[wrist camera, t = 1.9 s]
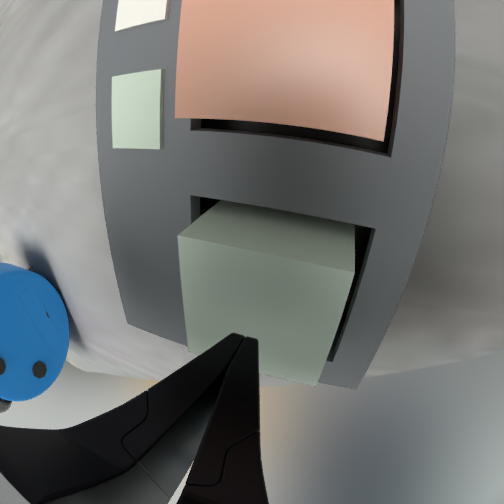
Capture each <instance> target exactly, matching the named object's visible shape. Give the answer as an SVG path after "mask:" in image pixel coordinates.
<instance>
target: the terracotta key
mask: <svg viewBox="0 0 504 504" xmlns="http://www.w3.org/2000/svg"><path fill="white" fill-rule="evenodd" d="M393 42H394V0H182V5H181V14H180V25H179V37H178V51H177V68H176V90H175V118H199V119H225V120H242V121H255V122H266V123H276V124H284V125H293V126H300V127H308V128H315V129H321V130H327V131H333V132H339V133H344V134H350V135H355V136H360V137H365V138H370V139H374V140H379V141H383V142H384V135H385V128H386V121H387V113H388V105H389V96H390V86H391V74H392V61H393Z"/></svg>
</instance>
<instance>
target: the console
mask: <svg viewBox="0 0 504 504" xmlns="http://www.w3.org/2000/svg"><path fill="white" fill-rule="evenodd" d="M181 5H182V0H103V5H102V13H101V21H100V30H99V40H98V54H97V74H96V125H97V146H98V160H99V171H100V181H101V190H102V199H103V206H104V213H105V220H106V227H107V233H108V239H109V244H110V250H111V255H112V260H113V265H114V270H115V274H116V279H117V283H118V288H119V292H120V296H121V300H122V304H123V308H124V312H125V316H126V319H127V323H128V324H130V325H132V326H135V327H137V328H140V329H142V330H145V331H147V332H150V333H152V334H155V335H158V336H160V337H163V338H166V339H169V340H171V341H174V342H177V343H180V344H183V345H185V346H188V342H187V334H186V325H185V317H184V307H183V298H182V287H181V276H180V264H179V250H178V235H179V234H180V233H181V232H182V231H183V230H185V229H186V228H187V227H188V226H189V225H191V224H192V223H193V222H194V221H195V220H197V219H198V218H199V217H200V197H206V198H212V199H219V200H225V201H232V202H238V203H244V204H250V205H256V206H262V207H268V208H273V209H279V210H284V211H290V212H295V213H301V214H306V215H311V216H316V217H321V218H326V219H331V220H336V221H341V222H346V223H351V224H356V225H360V226H365V227H370V228H372V229H371V233H370V237H369V241H368V245H367V249H366V252H365V256H364V260H363V263H362V267H361V270H360V274H359V277H358V280H357V284H356V287H355V290H354V294H353V297H352V300H351V303H350V306H349V309H348V312H347V315H346V317H343V316H341V319H340V322H339V325H338V328H337V331H336V334H335V337H334V340H333V343H332V346H331V348H330V351H329V354H328V357H327V359H326V362H325V365H324V367H323V370H322V373H321V375H320V378H319V380H318V382H319V383H324V384H329V385H335V386H340V387H345V388H351V389H357V387H358V385H359V383H360V382H361V380H362V378H363V376H364V375H365V373H366V371H367V369H368V367H369V365H370V363H371V361H372V359H373V357H374V355H375V353H376V351H377V349H378V347H379V345H380V343H381V341H382V339H383V337H384V335H385V333H386V331H387V328H388V326H389V324H390V322H391V320H392V317H393V315H394V313H395V310H396V308H397V306H398V303H399V301H400V299H401V296H402V294H403V291H404V289H405V286H406V283H407V281H408V278H409V276H410V273H411V270H412V267H413V265H414V262H415V259H416V256H417V253H418V250H419V247H420V244H421V241H422V238H423V235H424V232H425V228H426V225H427V222H428V218H429V215H430V211H431V207H432V204H433V200H434V196H435V192H436V188H437V184H438V180H439V175H440V171H441V166H442V161H443V156H444V151H445V145H446V139H447V133H448V127H449V120H450V112H451V104H452V95H453V83H454V68H455V12H454V0H400V36H399V58H398V72H397V84H396V94H395V103H394V112H393V119H392V127H391V134H390V140H389V146H388V152H387V154H386V153H382V152H378V151H373V150H369V149H364V148H359V147H354V146H349V145H344V144H338V143H333V142H327V141H321V140H315V139H308V138H301V137H294V136H286V135H278V134H269V133H260V132H249V131H238V130H224V129H205V128H201V119H199V118H175V90H176V68H177V51H178V37H179V25H180V14H181Z"/></svg>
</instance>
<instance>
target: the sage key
mask: <svg viewBox="0 0 504 504" xmlns="http://www.w3.org/2000/svg"><path fill="white" fill-rule="evenodd" d="M178 250H179V264H180V276H181V287H182V298H183V307H184V317H185V325H186V334H187V342H188V349H189V352H192V353H195V354H198V355H200V354H202V353H203V352H205V351H206V350H208V349H209V348H211V347H212V346H214V345H215V344H216V343H218V342H219V341H221V340H222V339H224V338H225V337H226V336H228V335H229V334H231V333H238V334H241V335H244V336H245V337H246V336H249V337H252V338H256V339H258V341H259V373H261V374H265V375H269V376H273V377H277V378H281V379H285V380H289V381H293V382H297V383H302V384H306V385H311V386H316V385H317V383H318V380H319V378H320V375H321V373H322V370H323V367H324V365H325V362H326V359H327V357H328V354H329V351H330V348H331V346H332V343H333V340H334V337H335V334H336V331H337V328H338V325H339V322H340V319H341V316H342V313H343V310H344V307H345V304H346V301H347V297H348V294H349V291H350V287H351V284H352V281H353V277H354V274H355V229H354V224H350V223H345V222H340V221H335V220H330V219H325V218H320V217H315V216H310V215H305V214H299V213H294V212H289V211H283V210H277V209H272V208H266V207H260V206H254V205H249V204H242V203H236V202H230V201H224V200H220V201H219V202H218V203H217V204H215V205H214V206H213V207H212V208H210V209H209V210H208V211H207V212H205V213H204V214H203V215H202V216H200V217H199V218H198V219H197V220H195V221H194V222H193V223H192V224H191V225H189V226H188V227H187V228H186V229H185V230H183V231H182V232H181V233H180V234H179V235H178Z"/></svg>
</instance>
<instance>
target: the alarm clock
mask: <svg viewBox="0 0 504 504" xmlns="http://www.w3.org/2000/svg"><path fill="white" fill-rule="evenodd" d="M31 269H32V266H29V268H28V269H27V270H26V269H23V268H20V267H17V266H15V265H12V264H8V263H0V413H2V412H5V411H7V410H8V409H9V408H10V406H11V403H12V401H25V400H29V399H32V398H34V397H36V396H38V395H40V394H41V393H43V392H44V391H45V390H46V389H48V388H49V387H50V385H52V383H53V382H54V381H55V380H56V378H57V376H58V375H59V373H60V371H61V369H62V367H63V365H64V362H65V359H66V356H67V352H68V346H69V321H68V316H67V312H66V308H65V306H64V303H63V301H62V299H61V297H60V295H59V293H58V292H57V290H56V289H55V288H54V287H53V285H52V284H51V283H50V282H49V281H47V280H46V279H45V278H44V277H42V276H40V275H39V274H37V273H34V272H32V271H31Z"/></svg>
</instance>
